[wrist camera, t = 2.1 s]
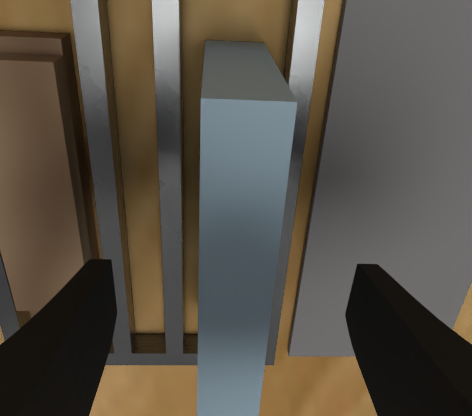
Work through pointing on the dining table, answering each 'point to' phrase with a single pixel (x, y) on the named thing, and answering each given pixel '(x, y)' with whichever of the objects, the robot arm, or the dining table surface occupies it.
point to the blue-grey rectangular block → (239, 219)
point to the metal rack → (166, 173)
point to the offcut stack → (42, 169)
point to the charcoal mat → (391, 167)
